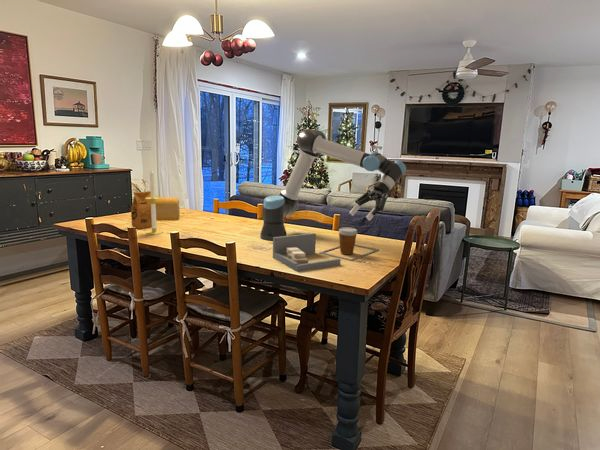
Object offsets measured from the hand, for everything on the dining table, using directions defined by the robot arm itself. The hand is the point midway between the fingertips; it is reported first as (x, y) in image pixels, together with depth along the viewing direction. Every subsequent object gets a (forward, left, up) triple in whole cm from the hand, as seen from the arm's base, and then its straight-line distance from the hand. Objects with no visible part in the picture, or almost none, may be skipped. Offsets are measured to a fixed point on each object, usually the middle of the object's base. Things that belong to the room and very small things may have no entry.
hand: (359, 216), depth 211 cm
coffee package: (-102, -86, -18) cm, 135 cm away
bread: (-125, -71, -19) cm, 145 cm away
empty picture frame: (-1, -5, -20) cm, 20 cm away
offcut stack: (+4, -38, -19) cm, 43 cm away
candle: (-84, -83, -18) cm, 120 cm away
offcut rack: (+3, -33, -18) cm, 38 cm away
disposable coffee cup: (+1, -7, -18) cm, 19 cm away
